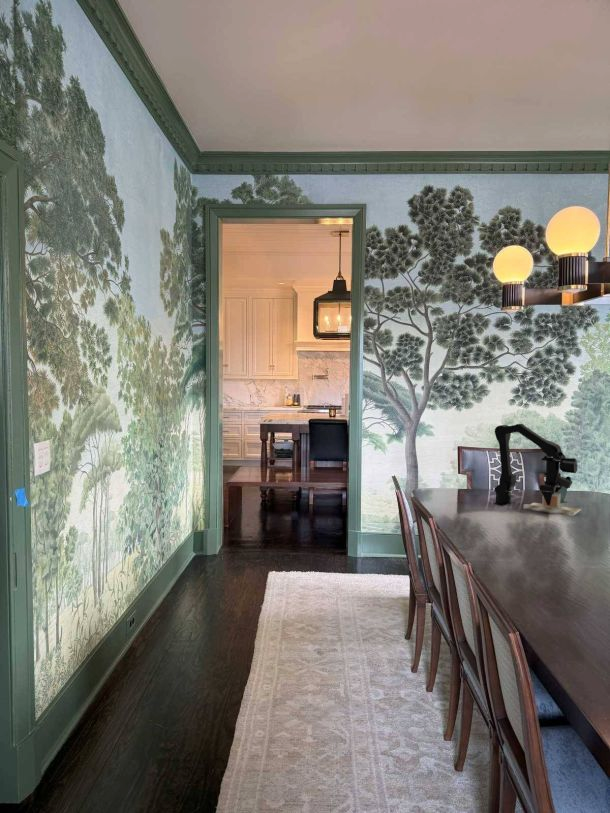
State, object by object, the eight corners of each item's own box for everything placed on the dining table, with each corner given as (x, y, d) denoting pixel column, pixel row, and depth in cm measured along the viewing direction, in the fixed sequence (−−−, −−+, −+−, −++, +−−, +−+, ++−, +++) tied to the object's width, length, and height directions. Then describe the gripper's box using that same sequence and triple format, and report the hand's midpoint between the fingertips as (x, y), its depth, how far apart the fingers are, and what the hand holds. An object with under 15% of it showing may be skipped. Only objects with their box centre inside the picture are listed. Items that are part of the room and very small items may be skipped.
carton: (544, 507, 262) (545, 491, 262) (560, 510, 258) (560, 493, 257) (541, 509, 259) (542, 492, 258) (557, 511, 254) (558, 494, 254)
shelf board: (523, 510, 261) (523, 504, 260) (533, 504, 273) (533, 498, 273) (573, 518, 247) (573, 511, 247) (581, 511, 259) (581, 505, 259)
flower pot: (567, 504, 273) (567, 486, 273) (549, 504, 274) (550, 486, 273) (559, 500, 282) (560, 483, 282) (542, 500, 282) (542, 483, 282)
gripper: (565, 475, 245) (564, 509, 246) (575, 470, 259) (574, 502, 260) (539, 472, 252) (538, 505, 253) (550, 467, 266) (549, 499, 267)
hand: (551, 503), depth 258 cm, fingers open, 9 cm apart
